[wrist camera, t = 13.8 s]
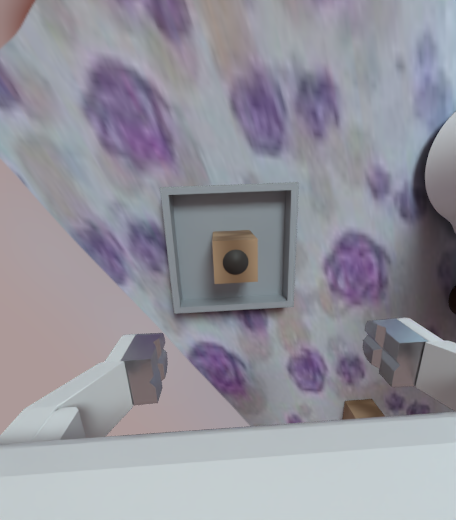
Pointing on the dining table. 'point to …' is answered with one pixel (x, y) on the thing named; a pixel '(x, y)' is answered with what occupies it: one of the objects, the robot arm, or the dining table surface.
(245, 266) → the block
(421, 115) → the dining table surface
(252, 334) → the dining table surface
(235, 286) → the tray
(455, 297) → the coffee mug
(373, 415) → the narrow-bore block
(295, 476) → the robot arm
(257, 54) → the dining table surface
